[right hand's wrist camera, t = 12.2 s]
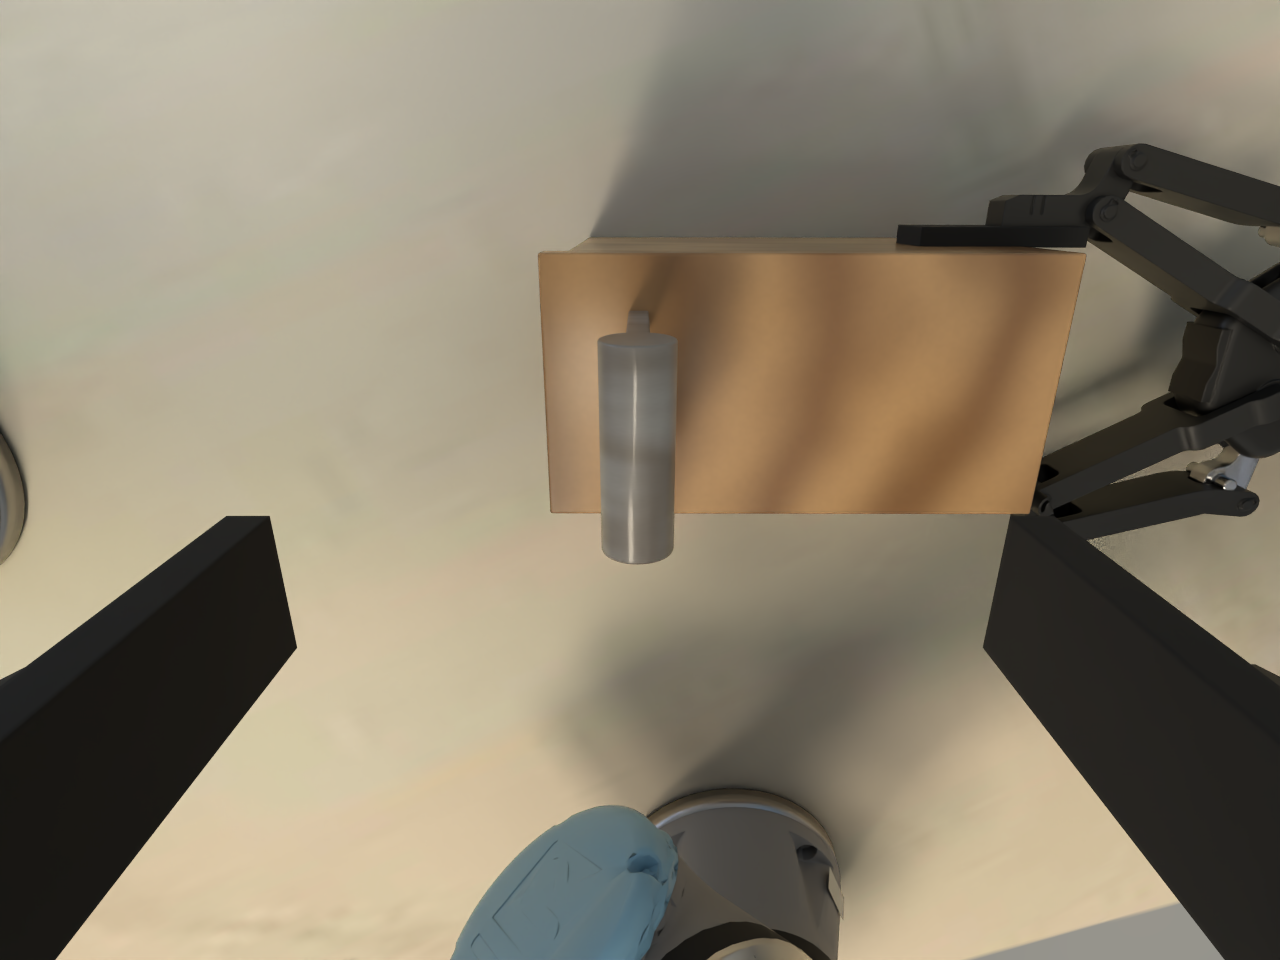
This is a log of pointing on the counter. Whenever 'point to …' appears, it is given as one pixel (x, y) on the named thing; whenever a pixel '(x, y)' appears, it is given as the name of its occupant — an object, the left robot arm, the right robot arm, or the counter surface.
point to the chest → (773, 245)
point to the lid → (797, 383)
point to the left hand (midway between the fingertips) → (891, 361)
